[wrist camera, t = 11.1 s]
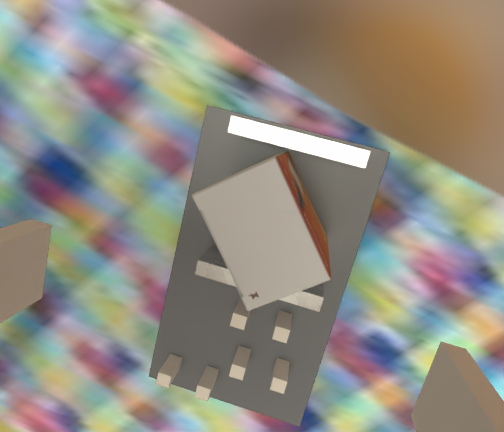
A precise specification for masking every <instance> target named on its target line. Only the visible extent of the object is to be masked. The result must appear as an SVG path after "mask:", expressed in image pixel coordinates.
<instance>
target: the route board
mask: <svg viewBox="0 0 504 432" xmlns="http://www.w3.org/2000/svg"><path fill="white" fill-rule="evenodd" d="M231 115H232V116H236V117H240V118H244V119H247V120H251V121H255V122H259V123H263V124H267V125H271V126H275V127H278V128H282V129H286V130H290V131H294V132H298V133H302V134H306V135H309V136H313V137H317V138H321V139H325V140H329V141H333V142H337V143H340V144H344V145H348V146H352V147H356V148H360V149H364V150H367V151H371V152H370V155H369V158H368V161H367V164H366V167H365V168H362V167H358V166H354V165H350V164H347V163H343V162H339V161H335V160H331V159H328V158H324V157H320V156H316V155H312V154H309V153H305V152H301V151H297V150H293V149H290V148H286V147H282V146H278V145H274V144H271V143H267V142H263V141H259V140H255V139H251V138H248V137H244V136H240V135H236V134H232V133H229V132H228V128H229V124H230V119H231ZM286 151H288V152H289V153H290V155H291V157H292V159H293V162H294V164H295V166H296V168H297V171H298V173H299V175H300V177H301V180H302V182H303V184H304V187H305V189H306V191H307V194H308V196H309V198H310V200H311V203H312V205H313V207H314V209H315V212H316V214H317V216H318V218H319V220H320V222H321V224H322V226H323V228H324V230H325V232H326V234H327V237H328V248H329V259H330V271H331V279H330V280H329V281H326V282H323V291H324V299H323V302H322V305H321V308H320V312H318V311H315V310H311V309H308V308H305V307H301V306H298V305H295V304H292V303H288V302H285V301H282V300H276V301H273V302H271V303H268V304H266V305H263V306H260V307H258V308H255V309H253V310H250V311H247V310H246V308H245V306H244V304H243V301H242V299H241V297H240V294H239V291H238V289H237V287H235V286H232V285H229V284H225V283H222V282H219V281H215V280H212V279H209V278H205V277H202V276H199V275H196V274H195V271H196V267H197V262H198V260H199V259H200V258H201V256H202V255H203V254H204V253H205V252H206V251H207V250H208V249H209V248H210V247H211V246H212V247H216V248H218V247H217V245H216V243H215V241H214V239H213V237H212V235H211V233H210V231H209V229H208V227H207V225H206V223H205V221H204V219H203V217H202V215H201V213H200V211H199V209H198V207H197V206H196V204H195V202H194V200H193V198H192V195H193V194H194V193H195V192H197V191H200V190H202V189H204V188H206V187H208V186H210V185H212V184H214V183H216V182H218V181H221V180H223V179H225V178H227V177H229V176H231V175H233V174H235V173H237V172H240V171H242V170H244V169H246V168H248V167H251V166H253V165H255V164H257V163H259V162H262V161H264V160H266V159H268V158H271V157H273V156H275V155H278V154H281V153H283V152H286ZM389 154H390V152H387V151H383V150H380V149H376V148H372V147H368V146H364V145H360V144H356V143H352V142H348V141H345V140H341V139H337V138H333V137H329V136H325V135H321V134H317V133H313V132H309V131H306V130H302V129H298V128H294V127H290V126H286V125H282V124H278V123H274V122H271V121H267V120H263V119H259V118H255V117H251V116H247V115H243V114H239V113H236V112H232V111H228V110H224V109H220V108H216V107H212V106H208V105H207V108H206V113H205V118H204V122H203V127H202V131H201V136H200V141H199V145H198V150H197V155H196V159H195V164H194V169H193V173H192V178H191V183H190V187H189V192H188V196H187V201H186V206H185V210H184V215H183V220H182V224H181V229H180V234H179V238H178V243H177V248H176V252H175V257H174V262H173V266H172V271H171V275H170V280H169V285H168V289H167V294H166V299H165V303H164V308H163V313H162V317H161V322H160V327H159V331H158V336H157V341H156V345H155V350H154V354H153V359H152V364H151V368H150V373H149V377H152V378H155V379H157V381H156V384H157V385H160V386H163V387H166V388H169V387H170V385H171V384H173V385H176V386H179V387H182V388H185V389H188V390H191V391H194V392H196V393H195V397H196V398H199V399H202V400H205V401H208V399H209V397H212V398H215V399H218V400H221V401H224V402H227V403H230V404H233V405H236V406H239V407H242V408H245V409H248V410H251V411H254V412H257V413H260V414H263V415H266V416H269V417H272V418H275V419H278V420H281V421H284V422H287V423H290V424H293V425H296V426H300V423H301V420H302V417H303V414H304V411H305V408H306V405H307V402H308V399H309V396H310V393H311V390H312V387H313V384H314V381H315V378H316V375H317V372H318V369H319V366H320V363H321V360H322V357H323V354H324V351H325V348H326V345H327V341H328V338H329V335H330V332H331V329H332V326H333V323H334V320H335V317H336V314H337V311H338V308H339V305H340V302H341V299H342V296H343V293H344V290H345V287H346V284H347V281H348V278H349V275H350V272H351V269H352V266H353V263H354V260H355V257H356V254H357V251H358V248H359V245H360V242H361V239H362V236H363V233H364V230H365V227H366V223H367V220H368V217H369V214H370V211H371V208H372V205H373V202H374V199H375V196H376V193H377V190H378V187H379V184H380V181H381V178H382V175H383V172H384V169H385V166H386V163H387V160H388V157H389Z"/></svg>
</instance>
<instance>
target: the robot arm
mask: <svg viewBox="0 0 504 432" xmlns="http://www.w3.org/2000/svg"><path fill="white" fill-rule="evenodd" d="M51 226H52V225H49V224H46V223H43V222H39V221H36V220H33V219H30V220H26V221H23V222H20V223H16V224H13V225H9V226H6V227H3V228H0V323H1V322H3V321H4V320H6V319H8V318H9V317H11V316H13V315H14V314H16V313H18V312H19V311H21V310H23V309H24V308H26V307H28V306H29V305H31V304H33V303H34V302H36V301H38V300H39V299H41V298H42V293H43V286H44V278H45V271H46V264H47V256H48V249H49V241H50V234H51ZM411 418H412V421H413V424H414V426H415V429H416V432H504V401H503V400H502V398H501V397H500V396H499V394H498V393H497V391H496V390H495V389H494V387H493V386H492V384H491V383H490V382H489V380H488V379H487V378H486V376H485V375H484V373H483V372H482V371H481V369H480V368H479V366H478V365H477V364H476V362H475V361H474V359H473V358H472V357H471V355H470V354H469V352H468V351H467V350H466V349H464V348H461V347H457V346H454V345H451V344H447V343H444V342H441V343H440V345H439V348H438V350H437V352H436V355H435V357H434V360H433V362H432V365H431V367H430V370H429V372H428V375H427V377H426V380H425V382H424V384H423V387H422V389H421V392H420V394H419V397H418V399H417V402H416V404H415V407H414V409H413V411H412V414H411Z"/></svg>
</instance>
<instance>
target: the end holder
mask: <svg viewBox="0 0 504 432" xmlns="http://www.w3.org/2000/svg"><path fill="white" fill-rule="evenodd" d="M228 132H229V133H232V134H236V135H240V136H244V137H248V138H251V139H255V140H259V141H263V142H267V143H271V144H274V145H278V146H282V147H286V148H290V149H293V150H297V151H301V152H305V153H309V154H312V155H316V156H320V157H324V158H328V159H331V160H335V161H339V162H343V163H347V164H350V165H354V166H358V167H362V168H365V167H366V164H367V161H368V158H369V155H370V152H371V151H367V150H364V149H360V148H356V147H352V146H348V145H344V144H340V143H337V142H333V141H329V140H325V139H321V138H317V137H313V136H309V135H306V134H302V133H298V132H294V131H290V130H286V129H282V128H278V127H275V126H271V125H267V124H263V123H259V122H255V121H251V120H247V119H244V118H240V117H236V116H232V115H231V119H230V124H229V128H228ZM195 274H196V275H199V276H202V277H205V278H209V279H212V280H215V281H219V282H222V283H225V284H229V285H232V286H235V287H236V285H235V283H234V281H233V278H232V276H231V274H230V272H229V270H228V268H227V266H226V264H225V262H224V259H223V257H222V255H221V253H220V251H219V249H218V248H216V247H212V246H211V247H210V248H209V249H208V250H207V251H206V252H205V253H204V254H203V255H202V256H201V258H200V259H199V260H198V262H197V267H196V271H195ZM323 299H324V291H323V283H321V284H318V285H316V286H313V287H310V288H308V289H305V290H302V291H300V292H297V293H294V294H292V295H289V296H287V297H284V298H281V299H279V300H282V301H285V302H288V303H292V304H295V305H298V306H301V307H305V308H308V309H311V310H315V311H318V312H320V308H321V305H322V302H323Z"/></svg>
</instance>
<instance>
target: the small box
mask: <svg viewBox="0 0 504 432" xmlns="http://www.w3.org/2000/svg"><path fill="white" fill-rule="evenodd" d="M192 198H193V200H194V202H195V204H196V206H197V207H198V209H199V211H200V213H201V215H202V217H203V219H204V221H205V223H206V225H207V227H208V229H209V231H210V233H211V235H212V237H213V239H214V241H215V243H216V245H217V247H218V249H219V251H220V253H221V255H222V257H223V259H224V262H225V264H226V266H227V268H228V270H229V272H230V274H231V276H232V278H233V281H234V283H235V285H236V287H237V289H238V291H239V294H240V297H241V299H242V301H243V304H244V306H245V308H246V310H247V311H250V310H253V309H255V308H258V307H260V306H263V305H266V304H268V303H271V302H273V301H276V300H279V299H281V298H284V297H287V296H289V295H292V294H294V293H297V292H300V291H302V290H305V289H308V288H310V287H313V286H316V285H318V284H321V283H323V282H326V281H329V280H330V279H331V271H330V259H329V248H328V237H327V234H326V232H325V230H324V228H323V226H322V224H321V222H320V220H319V218H318V216H317V214H316V212H315V209H314V207H313V205H312V203H311V200H310V198H309V196H308V194H307V191H306V189H305V187H304V184H303V182H302V180H301V177H300V175H299V173H298V171H297V168H296V166H295V164H294V162H293V159H292V157H291V155H290V153H289V152H288V151H286V152H283V153H281V154H278V155H275V156H273V157H271V158H268V159H266V160H264V161H262V162H259V163H257V164H255V165H253V166H251V167H248V168H246V169H244V170H242V171H240V172H237V173H235V174H233V175H231V176H229V177H227V178H225V179H223V180H221V181H218V182H216V183H214V184H212V185H210V186H208V187H206V188H204V189H202V190H200V191H197V192H195V193H194V194H193V195H192Z"/></svg>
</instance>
